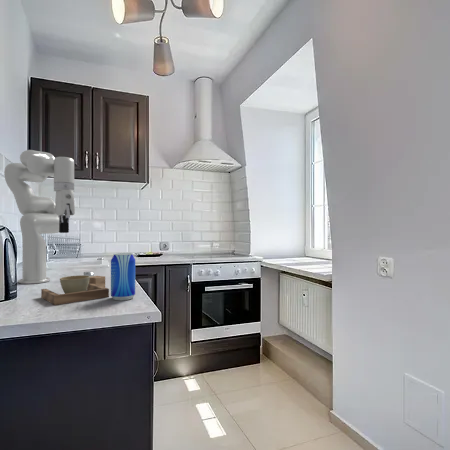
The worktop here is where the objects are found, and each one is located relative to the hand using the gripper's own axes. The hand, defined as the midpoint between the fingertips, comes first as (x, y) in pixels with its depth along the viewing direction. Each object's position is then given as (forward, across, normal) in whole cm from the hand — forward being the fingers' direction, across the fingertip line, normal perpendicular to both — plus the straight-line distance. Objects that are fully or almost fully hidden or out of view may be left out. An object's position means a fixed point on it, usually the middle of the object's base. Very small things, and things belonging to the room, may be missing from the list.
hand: (64, 232), depth 135 cm
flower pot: (+23, -18, +2) cm, 29 cm away
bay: (+23, -18, +2) cm, 29 cm away
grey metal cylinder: (+23, 0, -10) cm, 25 cm away
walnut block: (+23, -8, -10) cm, 26 cm away
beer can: (+23, -32, -10) cm, 41 cm away
